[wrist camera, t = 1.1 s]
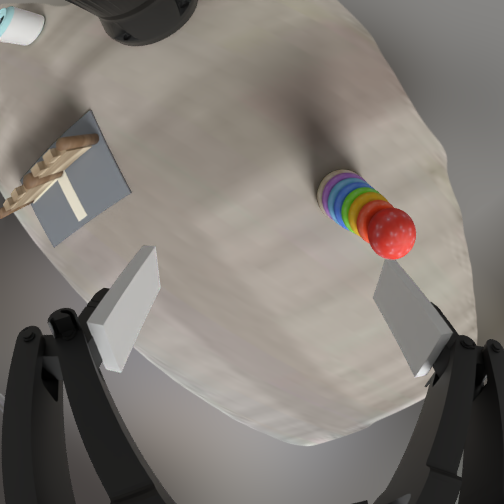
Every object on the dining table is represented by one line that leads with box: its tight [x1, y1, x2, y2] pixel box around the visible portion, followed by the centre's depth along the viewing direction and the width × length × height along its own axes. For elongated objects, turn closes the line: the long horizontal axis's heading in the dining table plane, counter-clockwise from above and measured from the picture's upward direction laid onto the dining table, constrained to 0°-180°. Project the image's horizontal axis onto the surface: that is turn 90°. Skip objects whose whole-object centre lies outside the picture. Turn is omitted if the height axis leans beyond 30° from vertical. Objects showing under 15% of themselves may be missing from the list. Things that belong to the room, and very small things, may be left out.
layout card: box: [20, 110, 132, 247], centre depth 38 cm, size 16×22×1 cm
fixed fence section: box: [0, 171, 63, 219], centre depth 33 cm, size 2×12×10 cm, turn 115°
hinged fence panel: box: [31, 133, 99, 179], centre depth 31 cm, size 2×9×9 cm, turn 115°
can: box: [0, 6, 44, 45], centre depth 18 cm, size 7×7×12 cm
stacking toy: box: [317, 170, 416, 259], centre depth 30 cm, size 8×8×19 cm
